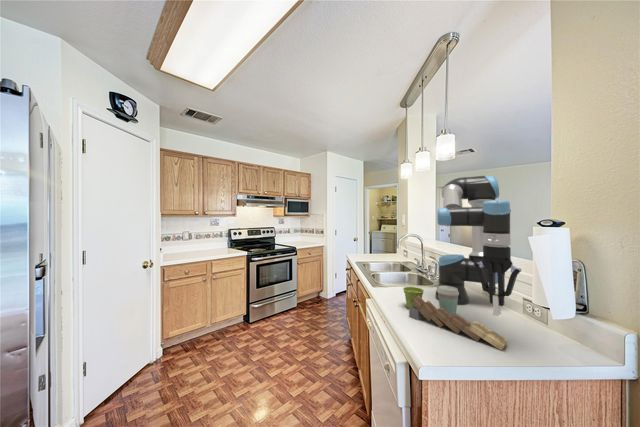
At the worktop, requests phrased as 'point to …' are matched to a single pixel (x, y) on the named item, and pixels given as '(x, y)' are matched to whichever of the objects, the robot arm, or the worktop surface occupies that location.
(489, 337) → the tile
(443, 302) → the coffee cup
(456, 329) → the tile
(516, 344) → the worktop surface
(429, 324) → the worktop surface
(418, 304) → the tile
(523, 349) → the worktop surface
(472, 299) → the worktop surface
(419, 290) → the plant pot
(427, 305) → the tile
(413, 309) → the block
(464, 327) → the tile
